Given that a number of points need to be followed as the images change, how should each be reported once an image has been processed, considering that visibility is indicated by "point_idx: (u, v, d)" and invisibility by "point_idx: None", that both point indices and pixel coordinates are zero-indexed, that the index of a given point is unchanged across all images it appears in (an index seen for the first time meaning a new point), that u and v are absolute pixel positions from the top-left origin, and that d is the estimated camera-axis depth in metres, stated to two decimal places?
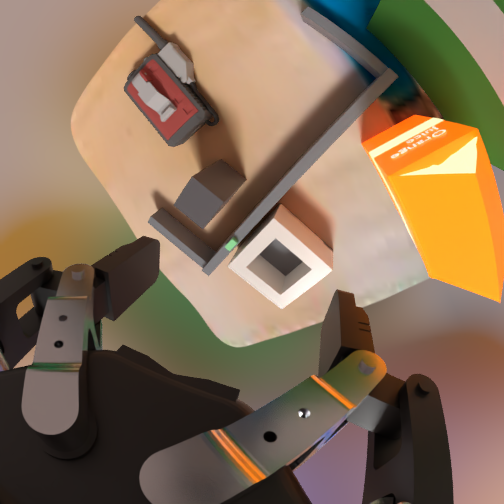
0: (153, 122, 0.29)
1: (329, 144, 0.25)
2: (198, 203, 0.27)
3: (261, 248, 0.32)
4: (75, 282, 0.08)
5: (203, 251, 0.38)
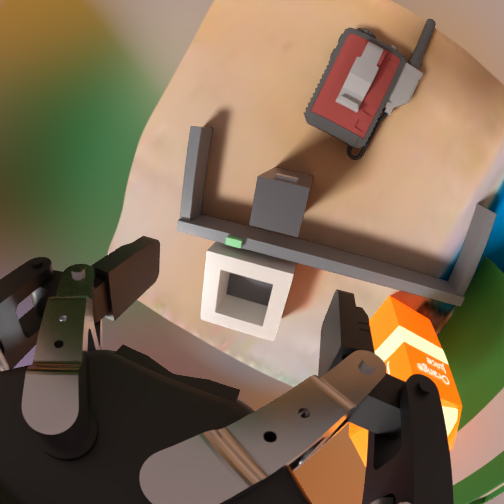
0: (324, 83, 0.21)
1: (386, 285, 0.26)
2: (279, 208, 0.21)
3: (252, 276, 0.28)
4: (75, 282, 0.08)
5: (196, 206, 0.30)
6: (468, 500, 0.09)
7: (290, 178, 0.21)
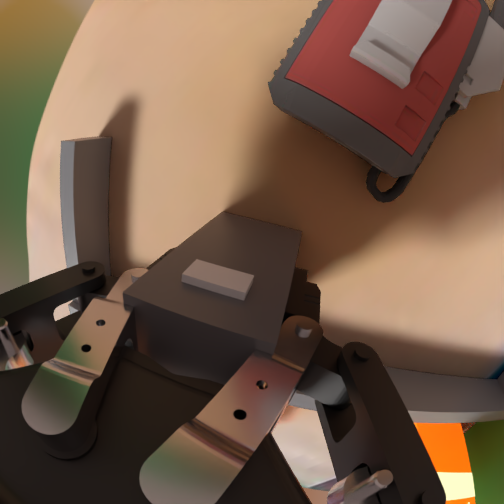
0: (323, 17, 0.07)
1: (417, 421, 0.12)
2: (193, 376, 0.07)
3: None
4: None
5: None
6: None
7: (224, 288, 0.07)
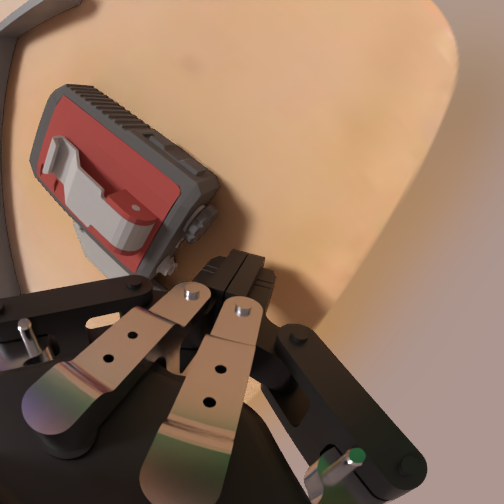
0: (91, 117, 0.11)
1: None
2: None
3: None
4: (196, 304, 0.08)
5: (10, 32, 0.10)
6: None
7: None
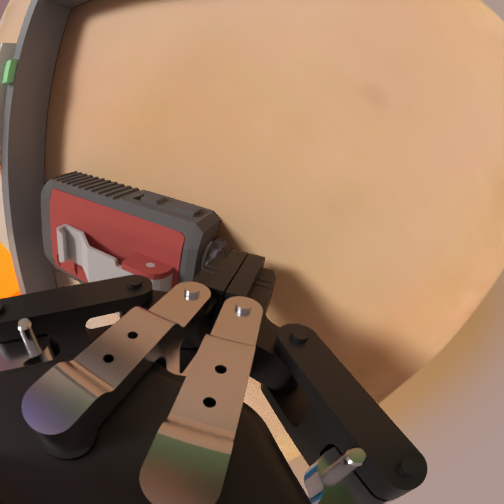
0: (84, 200, 0.13)
1: (19, 285, 0.16)
2: None
3: None
4: (195, 304, 0.08)
5: None
6: None
7: None
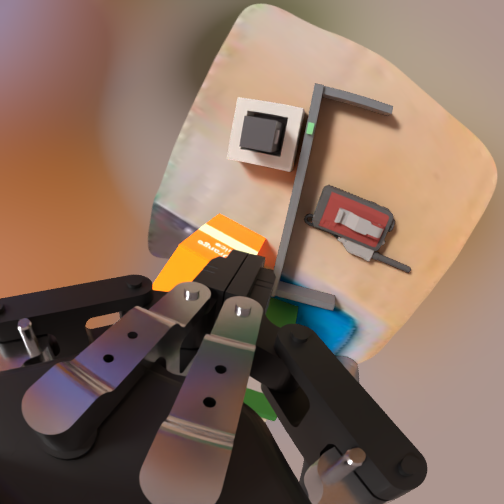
0: (351, 199, 0.37)
1: (282, 236, 0.41)
2: (256, 134, 0.31)
3: (285, 142, 0.35)
4: (195, 304, 0.08)
5: (331, 97, 0.33)
6: None
7: (276, 139, 0.32)
